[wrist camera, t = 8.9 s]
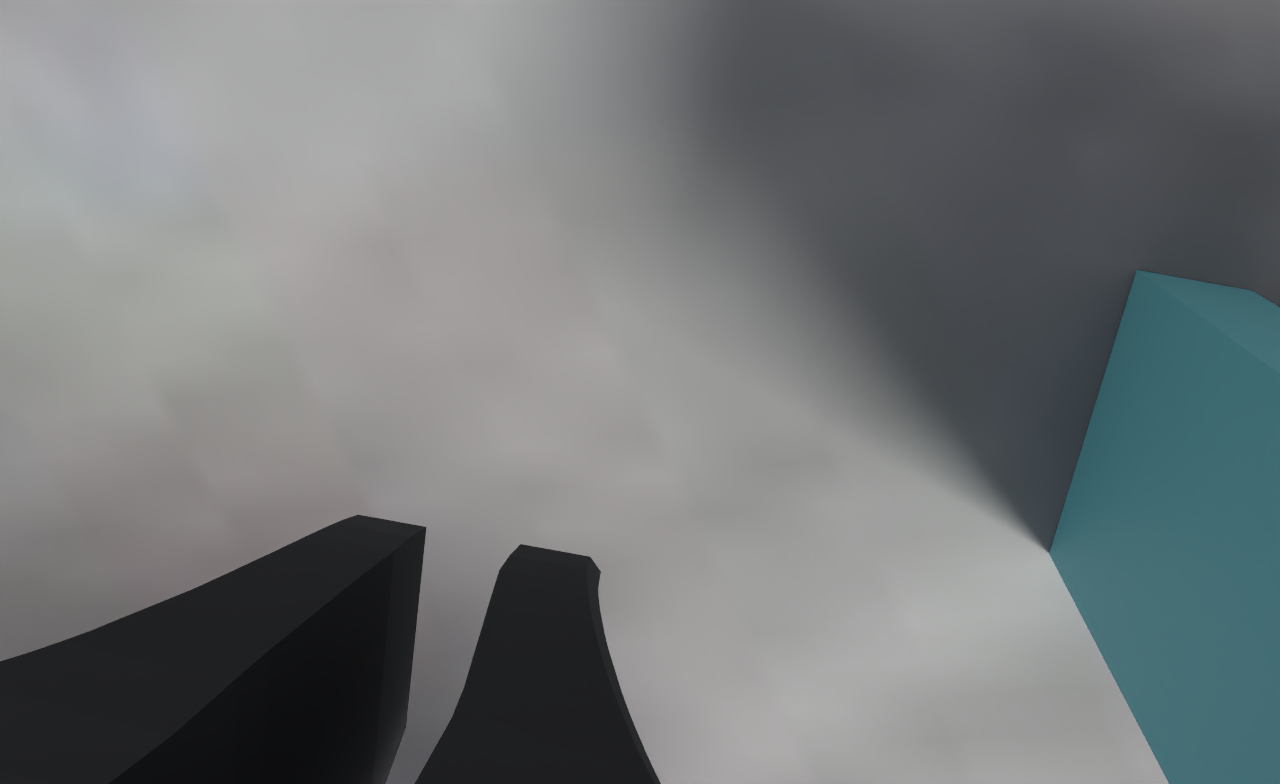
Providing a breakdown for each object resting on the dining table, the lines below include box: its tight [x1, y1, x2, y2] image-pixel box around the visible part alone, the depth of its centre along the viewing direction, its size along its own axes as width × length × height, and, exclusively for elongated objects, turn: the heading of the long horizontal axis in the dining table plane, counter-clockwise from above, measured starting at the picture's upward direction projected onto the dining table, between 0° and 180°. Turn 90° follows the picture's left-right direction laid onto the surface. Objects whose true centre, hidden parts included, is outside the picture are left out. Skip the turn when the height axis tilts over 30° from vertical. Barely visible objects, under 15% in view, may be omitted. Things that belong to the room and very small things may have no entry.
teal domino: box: [1049, 270, 1280, 784], centre depth 15 cm, size 2×5×9 cm, turn 171°
